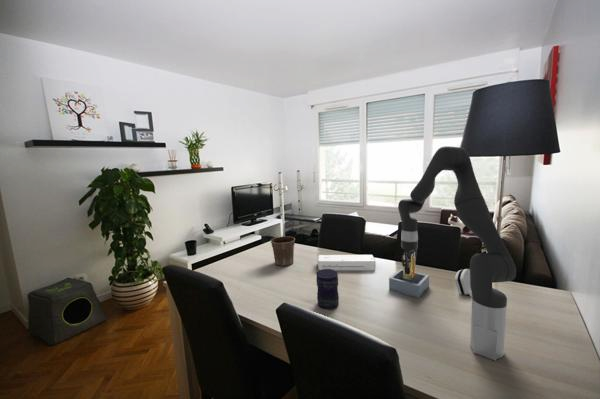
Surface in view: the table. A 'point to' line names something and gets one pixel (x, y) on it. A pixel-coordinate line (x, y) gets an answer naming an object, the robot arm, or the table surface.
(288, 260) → the plant pot
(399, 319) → the table surface
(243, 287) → the table surface
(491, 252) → the robot arm
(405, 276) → the bracket
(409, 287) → the box
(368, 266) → the laminator
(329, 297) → the storage jar
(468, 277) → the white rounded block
